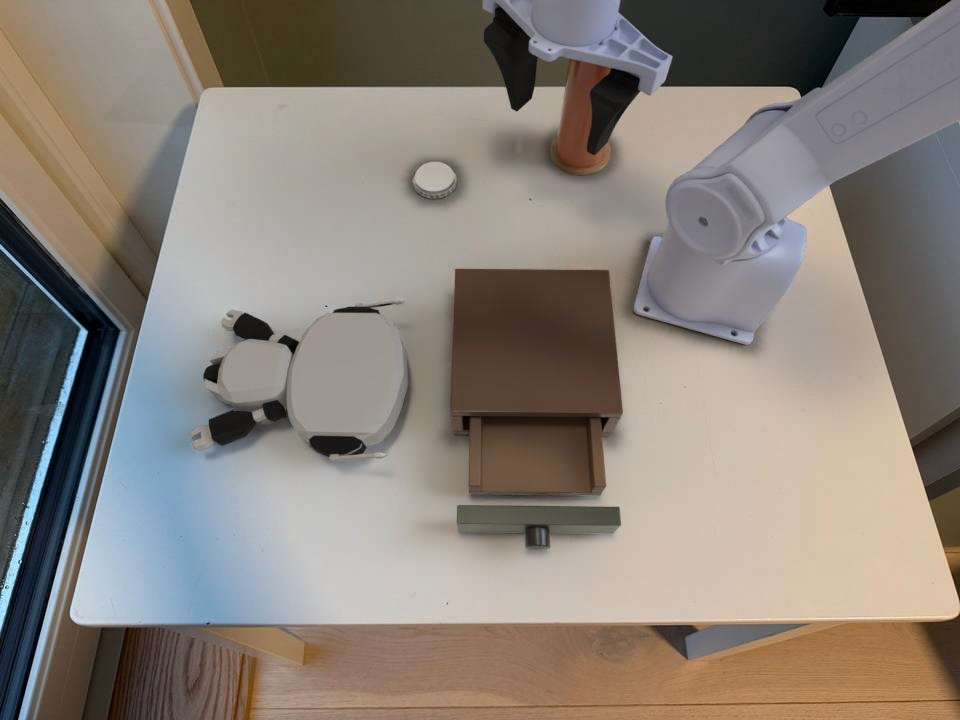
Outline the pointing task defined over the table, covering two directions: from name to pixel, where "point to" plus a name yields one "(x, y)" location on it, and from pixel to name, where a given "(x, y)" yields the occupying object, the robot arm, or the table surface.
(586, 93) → the orange cylinder post
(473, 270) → the cabinet
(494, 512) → the drawer
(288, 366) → the robot toy
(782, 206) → the robot arm
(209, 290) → the table surface
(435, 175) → the white bottle cap
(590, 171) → the coaster
